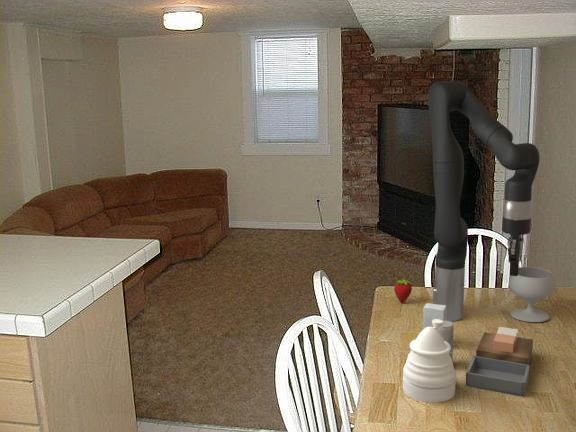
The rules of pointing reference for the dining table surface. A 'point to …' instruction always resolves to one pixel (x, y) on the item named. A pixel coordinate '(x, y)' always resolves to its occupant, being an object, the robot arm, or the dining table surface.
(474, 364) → the box
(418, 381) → the honey pot
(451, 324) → the energy drink
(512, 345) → the tile front
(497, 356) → the wooden grain block
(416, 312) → the dining table surface
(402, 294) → the strawberry
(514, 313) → the chalice
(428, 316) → the skincare box
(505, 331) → the tile back
